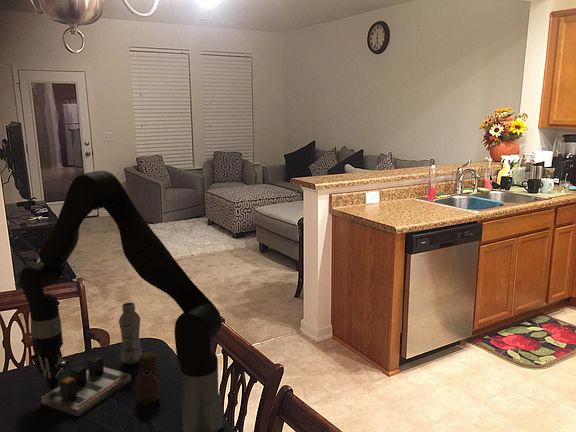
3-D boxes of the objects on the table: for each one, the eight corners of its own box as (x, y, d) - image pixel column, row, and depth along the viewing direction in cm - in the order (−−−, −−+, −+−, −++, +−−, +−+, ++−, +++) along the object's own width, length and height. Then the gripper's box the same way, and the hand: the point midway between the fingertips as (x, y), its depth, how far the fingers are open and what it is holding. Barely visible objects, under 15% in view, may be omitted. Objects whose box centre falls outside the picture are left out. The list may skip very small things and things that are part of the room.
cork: (154, 395, 138) (152, 360, 136) (134, 393, 140) (132, 358, 137) (163, 384, 144) (161, 350, 142) (145, 382, 145) (143, 348, 143)
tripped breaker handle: (77, 394, 135) (75, 378, 134) (68, 399, 132) (67, 383, 131) (69, 391, 136) (68, 375, 135) (60, 397, 133) (59, 380, 132)
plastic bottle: (120, 359, 159) (116, 302, 155) (141, 355, 162) (137, 299, 158) (122, 368, 153) (118, 309, 149) (144, 364, 156) (140, 306, 152)
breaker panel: (131, 380, 146) (129, 361, 145) (77, 416, 128) (75, 394, 127) (97, 370, 152) (95, 351, 151) (41, 403, 134) (39, 382, 133)
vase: (135, 409, 132) (133, 380, 130) (136, 395, 138) (134, 368, 136) (161, 405, 133) (159, 377, 132) (160, 392, 140) (159, 364, 138)
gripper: (74, 330, 134) (79, 387, 137) (42, 322, 139) (47, 376, 143) (51, 341, 127) (57, 400, 130) (18, 332, 133) (24, 389, 136)
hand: (52, 388), depth 137 cm, fingers closed
